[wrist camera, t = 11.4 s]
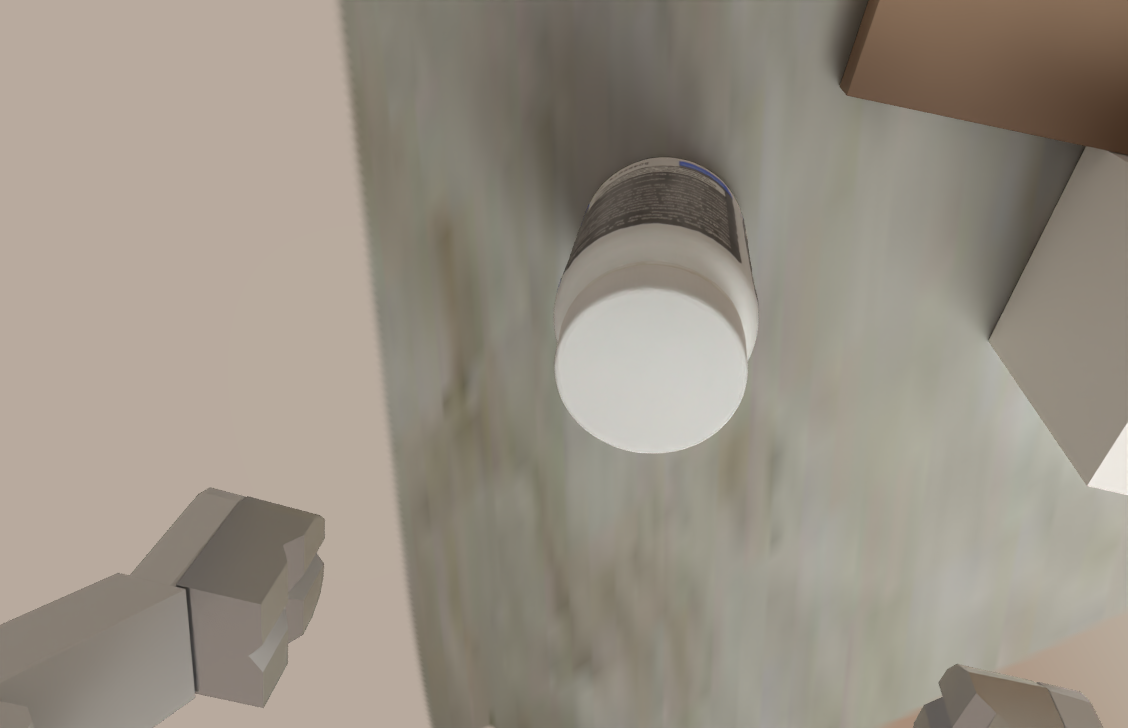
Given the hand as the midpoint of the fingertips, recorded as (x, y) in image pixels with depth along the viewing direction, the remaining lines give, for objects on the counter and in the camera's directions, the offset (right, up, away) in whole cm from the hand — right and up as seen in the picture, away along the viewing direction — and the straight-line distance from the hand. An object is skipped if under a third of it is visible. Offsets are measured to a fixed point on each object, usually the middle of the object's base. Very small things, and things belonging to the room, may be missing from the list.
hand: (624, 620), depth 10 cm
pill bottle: (+2, +7, +14) cm, 15 cm away
